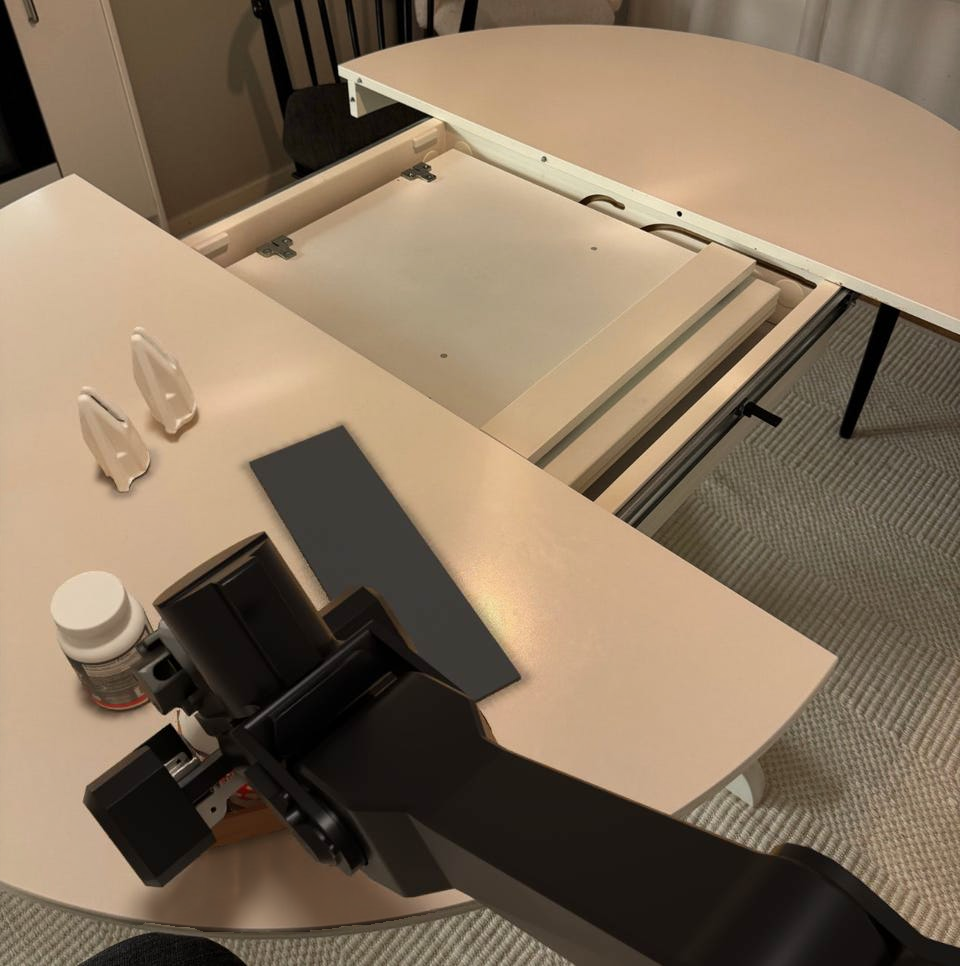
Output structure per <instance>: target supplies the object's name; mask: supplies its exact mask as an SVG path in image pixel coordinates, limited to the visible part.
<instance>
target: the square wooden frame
mask: <svg viewBox="0 0 960 966" xmlns="http://www.w3.org/2000/svg"><path fill="white" fill-rule="evenodd" d="M180 710H181V709H178V710H176V720H177V732H178V733H179V734H182V730H181V726H180V722H179V715H180ZM182 735H183V734H182ZM191 748H192V747H191ZM192 749H193V748H192ZM193 751H194V749H193ZM194 752H195V751H194ZM195 754H196V755H197V753H196V752H195ZM285 829H287V828H286V827H285V826H284V825H283V824H282V823H281V821H280V820H279V819H278V818H277V817H276V816H275V815H274V813H273V812H272V811H271V810H270V809H269V808H268V807H267V805H266V804H265V803H264V804H260V805H257V806H253V807H244V808H242V809H238V810H234V811H229V812H228V813H227V814H225V815H224V817H223V818H222V819H221V820H220V821H219V822H218V823H217V824H215V825H214V826H213V827H212V828H211V830H212V832H213V834H214V836H215V838H216V840H217V842H216V843H215V844H214V845H212V846H211V847H210V848H209V849H208V850H210V849H214V848H217V847H221V846H225V845H228V844H233V843H236V842H240V841H244V840H248V839H251V838H255V837H259V836H262V835H266V834H270V833H274V832H277V831H281V830H285Z"/></svg>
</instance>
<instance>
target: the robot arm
mask: <svg viewBox="0 0 960 966" xmlns="http://www.w3.org/2000/svg"><path fill="white" fill-rule="evenodd" d="M151 605H152V606H153V608H154V609H155V611H156V613H158V615H159V616H160V618H161V619H160V621H159V622H158V625H157V629H155V630H153V631H154V632H152V633H151V634H149V635H148V636H147V637H145V638H144V639H142V640H141V641H140V642H138V643H137V644H135V645H134V647H135V648H136V650H137V652H138V653H139V654H140V656H141V658H140V659H139V660H137V661H136V662H135V663H133V664H132V665H130V674H131V676H132V677H133V679H134V680H135V682H136V683H137V684H138V686H139V687H140V688H141V690H142V691H143V692H144V693H145V695H146V696H147V697H148V699H149V700H148V701H150V703H151V704H152V705H153V706H154V708H155V709H156V711H157V712H159V714H160V715H161V716H167V715H168V714H169V713H171V712H173V710H175V709H180V710H181V709H182V710H183V711H184V712H185V713H186V714H187V716H189V717H190V716H191V715H192V714H194V712H196V711H198V712H197V713H196V714H195V715H194V717H195V718H196V720H197V721H198V723H199V724H200V725H201V727H202V728H203V730H204V731H205V732H206V734H207V735H209V736H211V737H215V738H216V739H217V740H218V744H219V748H218V749H217V750H215V751H214V752H213V753H212V754H210V755H209V756H208V757H207V758H205V759H204V760H203V759H202V760H201V759H200V758H199V756H198V754H197V753H196V754H195V752H194V751H193V749H192V748H191V746H190V745H189V744H188V742H187V741H186V740H185V738H184V737H183V735H182V734H179V733H178V730H177V728H176V727H174V725H173V723H171V722H169V723H167V724H166V725H165V726H164V727H162V728H161V729H160V730H158V731H157V732H156V733H154V734H153V735H152V736H150V737H149V738H148V739H146V740H145V741H144V742H142V743H141V744H139V745H138V746H137V747H135V748H134V749H133V750H132V751H131V752H130V753H128V754H127V755H125V756H124V757H123V758H121V759H120V760H119V761H118V762H116V763H115V764H114V765H112V766H111V767H110V768H108V769H107V770H106V771H104V772H102V774H100V775H99V776H98V777H96V778H95V779H94V780H93V781H91V782H90V783H88V784H87V785H86V786H85V790H84V793H83V800H82V804H83V805H84V806H85V808H86V809H87V810H88V812H89V814H90V815H91V816H92V817H93V818H94V820H95V821H96V823H97V824H98V825H99V827H100V828H101V829H102V831H104V833H105V834H106V836H107V838H109V840H110V841H111V842H112V844H113V845H114V846H115V847H116V849H117V850H118V851H119V853H120V854H121V855H122V858H124V860H125V861H126V862H127V863H128V865H129V867H130V868H131V869H132V870H133V872H134V873H135V874H136V875H137V877H138V878H139V880H140V881H141V882H142V883H143V885H144V886H145V887H149V888H150V887H151V888H161V889H162V888H164V887H165V886H166V885H168V884H169V883H170V882H171V881H173V880H174V878H176V877H177V876H179V875H180V874H181V873H182V872H183V871H184V870H185V869H187V868H188V867H189V866H190V865H191V864H193V863H194V862H195V861H196V860H197V859H198V858H200V857H201V856H202V855H203V854H204V853H205V852H207V851H208V850H210V849H211V848H210V847H211V846H212V845H214V844H215V843H216V842H217V840H216V838H215V836H214V834H213V832H212V830H211V828H212V827H213V826H214V825H215V824H217V823H218V822H219V821H220V820H221V819H222V818H223V817H224V815H225V814H227V813H230V812H231V811H232V807H231V806H230V804H229V802H228V799H229V797H230V796H231V795H232V794H234V793H235V792H236V791H237V790H238V789H240V788H241V787H242V786H243V785H244V784H246V783H248V785H249V786H250V787H251V788H252V789H253V791H254V792H255V793H256V794H257V795H258V796H259V797H260V799H261V800H262V801H263V802H264V803H265V804H266V805H267V807H268V808H269V809H270V810H271V811H272V812H273V813H274V815H275V816H276V817H277V818H278V819H279V820H280V821H281V823H282V824H283V825H284V826H285V827H286V828H285V829H287V830H288V831H289V833H290V835H292V836H293V837H294V839H295V840H296V841H297V842H298V843H299V844H300V846H301V847H302V848H303V849H304V850H305V851H306V852H307V854H308V855H309V856H310V857H311V858H312V859H313V860H314V861H315V862H316V863H317V864H319V865H328V866H329V867H330V868H333V867H335V868H337V869H338V870H339V871H340V872H341V873H343V874H344V875H345V876H347V877H349V878H352V877H353V876H354V875H356V873H357V872H358V871H361V872H362V873H363V874H364V875H366V876H367V877H368V878H369V879H370V880H372V881H374V882H375V883H377V884H378V885H381V886H383V888H384V887H385V888H386V889H388V890H390V891H391V892H393V893H395V894H397V895H398V896H400V897H401V898H402V897H403V898H405V899H411V898H412V899H413V898H417V897H422V896H428V895H431V894H436V893H441V892H446V891H450V890H456V891H458V892H460V893H462V894H465V895H466V896H468V897H470V898H472V899H473V900H475V902H477V903H479V904H480V905H482V906H484V908H485V907H486V908H487V909H489V910H490V911H491V912H493V913H494V914H496V915H497V916H499V917H501V918H502V919H503V920H505V921H507V922H508V923H510V924H511V925H512V926H514V927H516V928H517V929H519V930H520V931H522V932H523V933H525V934H527V935H528V936H529V937H531V938H532V939H534V940H536V941H537V942H539V943H540V944H541V945H543V946H545V948H548V949H549V950H551V951H552V952H554V953H555V954H557V955H558V956H560V957H561V958H563V959H565V960H566V961H567V962H569V963H571V964H572V965H574V966H960V947H959V946H956V945H953V944H950V943H946V942H943V941H939V940H936V939H932V938H929V937H928V936H925V935H924V934H922V933H921V932H920V931H919V930H918V929H916V928H915V927H914V926H913V925H912V924H911V923H910V922H909V921H907V919H906V918H904V917H903V916H902V915H901V914H900V913H898V912H897V911H896V910H895V909H894V908H893V907H891V905H890V904H888V902H886V901H885V900H884V899H883V898H882V897H880V896H879V895H878V894H877V893H876V892H875V891H873V889H871V888H870V887H869V886H868V885H867V884H866V883H865V882H864V881H862V880H861V879H860V878H859V877H857V876H856V875H855V874H853V873H852V872H850V871H849V870H848V869H847V868H846V867H844V866H843V865H842V864H840V863H839V862H838V861H836V860H835V859H833V858H831V857H830V856H828V855H825V854H823V853H822V852H819V851H817V850H816V849H814V848H812V847H809V846H806V845H803V844H798V843H793V842H784V843H781V844H777V845H774V846H773V848H771V850H770V851H769V852H764V851H760V850H758V849H755V848H753V847H750V846H748V845H746V844H743V843H741V842H738V841H735V840H733V839H730V838H728V837H726V836H724V835H720V834H718V833H716V832H713V831H711V830H708V829H706V828H703V827H701V826H698V825H696V824H694V823H691V822H689V821H686V820H683V819H680V818H678V817H676V816H673V815H671V814H669V813H666V812H663V811H661V810H659V809H657V808H654V807H652V806H650V805H647V804H644V803H641V802H639V801H637V800H634V799H631V798H629V797H627V796H624V795H621V794H619V793H617V792H614V791H611V790H610V789H607V788H604V787H602V786H599V785H597V784H594V783H592V782H590V781H587V780H584V779H582V778H579V777H577V776H575V775H573V774H569V773H567V772H565V771H562V770H559V769H558V768H555V767H553V766H549V765H548V764H545V763H542V762H540V761H537V760H535V759H533V758H530V757H528V756H525V755H523V754H520V753H517V752H515V751H513V750H510V749H508V748H506V747H504V746H503V745H501V744H499V742H498V740H497V738H496V736H495V735H494V733H493V729H492V727H491V725H490V723H489V722H488V719H487V718H486V716H485V715H484V713H483V712H482V711H481V709H480V707H479V706H478V704H477V702H476V703H475V701H474V699H473V698H471V697H470V696H468V695H467V694H466V693H465V692H463V691H462V690H461V689H460V688H459V687H458V686H456V685H455V684H454V683H453V682H451V681H450V680H449V679H448V678H446V677H445V676H444V675H442V674H441V673H440V672H439V671H437V670H436V669H435V668H434V667H432V666H431V665H430V664H429V663H427V662H426V661H425V660H423V659H422V658H421V657H420V656H418V651H417V649H416V648H415V646H414V644H413V643H412V641H411V640H410V638H409V637H408V635H407V633H406V632H405V630H404V629H403V627H402V626H401V624H400V622H399V621H398V619H397V618H396V616H395V615H394V613H393V611H392V610H391V608H390V607H389V605H388V604H387V602H386V600H385V599H384V597H383V596H382V595H381V594H380V593H378V592H377V591H376V590H375V589H374V588H370V587H365V586H351V587H349V588H348V589H347V590H345V591H344V592H343V593H341V594H340V595H339V596H337V597H336V598H335V599H334V600H332V601H329V602H328V603H327V604H325V605H324V606H323V607H322V608H320V609H319V610H318V609H317V607H316V606H315V605H314V603H313V601H312V599H311V598H310V597H309V595H308V594H307V592H306V591H305V589H304V588H303V586H302V585H301V583H300V581H299V580H298V578H297V576H296V575H295V573H294V572H293V571H292V569H291V568H290V566H289V564H287V562H286V560H285V559H284V557H283V555H282V554H281V552H280V551H279V549H278V548H277V547H276V545H275V543H274V542H273V540H272V539H271V538H270V536H269V534H267V532H266V531H265V530H263V531H259V532H256V533H254V534H252V535H249V536H248V537H245V538H243V539H242V540H239V541H238V542H236V543H234V544H233V545H231V546H228V547H227V548H225V549H223V550H222V551H220V552H218V553H217V554H215V555H213V556H212V557H210V558H209V559H207V560H206V561H204V562H203V563H201V564H199V565H198V566H196V567H195V568H193V569H192V570H190V571H189V572H187V573H186V574H185V575H183V576H182V577H180V578H179V579H178V580H177V581H174V583H173V584H171V585H169V586H168V587H167V588H166V589H165V590H164V591H163V592H161V593H160V594H159V595H158V596H157V597H156V598H155V599H154V600H153V602H152V603H151ZM233 770H234V771H233ZM235 771H236V772H235ZM229 773H231V777H229V776H227V774H229ZM223 778H225V782H223V781H221V779H223ZM218 783H219V784H218ZM217 784H218V785H217ZM209 848H210V849H209Z"/></svg>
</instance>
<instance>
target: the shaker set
mask: <svg viewBox="0 0 960 966" xmlns="http://www.w3.org/2000/svg"><path fill="white" fill-rule="evenodd" d="M130 349H131V363H132V374H133V380H134V382H135V384H136V386H137V388H138V390H139V392H140V393H141V396H142V398H143V399H144V402H145V403H146V405H147V408H148V409H149V410H150V412H151V414H152V416H153V419H154V420H155V421H157V422H158V423H160V424H161V425H163V426H164V430H165V433H166V434H170V435H171V434H176V433H177V432H178V430H179V429H180V428H181V427H183V426H184V425H186V424H187V423H189V422H190V421H191V420H192V419H193V418H194V416H195V415H196V412H197V411H196V410H197V408H198V407H197V406H198V405H197V398H196V396H195V394H194V392H193V390H192V387H191V385H190V383H189V380H188V379H187V377H186V375H185V373H184V370H183V369H182V366H181V364H180V363H179V361H178V359H177V357H176V356H175V355H174V354H173V353H172V351H171V350H170V349H168V347H167V346H165V345H164V343H163V342H161V341H160V339H158V338H157V337H156V336H155V335H154V334H153V333H152V332H150V331H149V330H148V329H146V328H144V327H142V326H136V327H134V328H133V330H132V335H131V337H130ZM77 407H78V417H79V423H80V429H81V435H82V439H83V440H84V443H85V445H86V446H87V447H88V449H89V451H90V452H91V454H92V455H93V457H94V459H95V460H96V462H97V463H98V464H99V467H100V468H101V469H102V471H103V473H104V475H105V476H106V477H110V478H111V479H113V481H114V483H115V486H116V489H117V491H119V492H120V493H122V492H124V493H125V492H129V489H130V485H131V483H132V481H133V480H135V478H138V477H140V476H141V475H143V474H144V473H146V471H147V469H148V467H149V464H150V461H151V458H150V452H149V449H148V447H147V445H146V443H145V442H144V440H143V439H142V437H141V435H140V433H139V431H138V430H137V428H136V426H135V424H134V423H133V421H132V420H131V418H130V417H129V415H128V414H127V413H126V412H125V411H124V410H123V409H122V408H120V407H119V405H117V404H116V403H115V402H114V401H113V400H111V399H110V398H109V397H107V396H106V395H105V394H104V393H102V392H101V391H99V390H98V389H96V388H94V387H93V386H91V385H84V386H81V388H80V395H79V396H78V397H77Z"/></svg>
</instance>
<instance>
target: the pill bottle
mask: <svg viewBox="0 0 960 966" xmlns="http://www.w3.org/2000/svg"><path fill="white" fill-rule="evenodd" d="M49 611H50V615H51V617H52V619H53V622H54V625H55V626H56V637H57V638H56V639H57V642H58V645H59V647H60V649H61V651H62V653H63V654H64V655H65V658H66V659H67V661H68V662H69V664H70V666H71V667H72V669H73V671H74V672H75V674H76V676H77V677H78V679H79V681H80V682H81V684H82V686H83V687H84V689H85V691H86V692H87V694H88V695H89V696H90V698H91V699H92V701H94V702H95V703H96V704H98V705H99V706H100V707H104V708H106V709H109V710H110V709H111V710H127V709H132V708H135V707H138V706H140V705H142V704H144V703H146V702H147V701H150V700H149V699H148V697H147V696H146V695H145V693H144V692H143V691H142V690H141V688H140V687H139V686H138V684H137V683H136V682H135V680H134V679H133V677H132V676H131V674H130V665H132V664H133V663H135V662H136V661H137V660H139V659H140V658H141V656H140V654H139V653H138V652H137V650H136V648H135V647H134V645H135V644H137V643H138V642H140V641H141V640H142V639H144V638H145V637H147V636H148V635H149V634H151V633H152V632H154V631H155V630H154V629H153V626H152V625H151V621H150V619H149V617H148V615H147V613H146V611H145V608H144V607H143V605H142V603H141V601H139V599H138V598H137V597H136V596H135V595H133V594H132V593H131V592H129V591H127V589H126V588H125V586H124V584H123V583H122V581H121V579H119V577H117V576H116V575H115V574H113V573H110V572H107V571H104V570H90V571H85V572H81V573H79V574H76V575H73V576H72V577H70V578H69V579H67V580H66V581H64V582H63V583H62V584H61V585H60V586H59V587H58V588H57V589H56V591H54V594H53V596H52V597H51V600H50V605H49Z"/></svg>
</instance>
